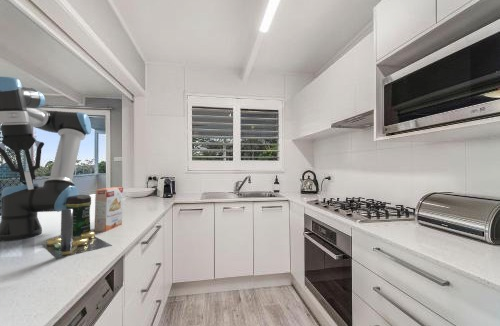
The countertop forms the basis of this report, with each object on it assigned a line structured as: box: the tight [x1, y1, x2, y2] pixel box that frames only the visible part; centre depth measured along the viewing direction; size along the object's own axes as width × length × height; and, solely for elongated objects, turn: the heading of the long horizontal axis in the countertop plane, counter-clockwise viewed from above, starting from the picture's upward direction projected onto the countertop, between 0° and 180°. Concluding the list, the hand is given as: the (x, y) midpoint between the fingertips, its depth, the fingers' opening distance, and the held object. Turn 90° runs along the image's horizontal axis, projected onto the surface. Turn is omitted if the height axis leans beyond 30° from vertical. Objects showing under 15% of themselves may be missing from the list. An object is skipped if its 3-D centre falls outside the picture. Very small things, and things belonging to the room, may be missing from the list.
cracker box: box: [93, 186, 124, 233], centre depth 117 cm, size 14×6×21 cm, turn 179°
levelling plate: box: [41, 230, 113, 260], centre depth 90 cm, size 22×17×3 cm
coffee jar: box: [66, 194, 92, 237], centre depth 106 cm, size 10×8×19 cm
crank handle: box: [60, 209, 89, 255], centre depth 87 cm, size 17×7×16 cm, turn 22°
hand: (30, 188), depth 85 cm, fingers closed
